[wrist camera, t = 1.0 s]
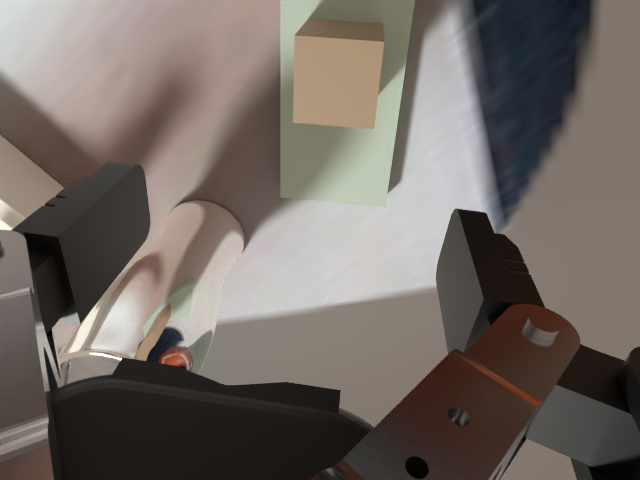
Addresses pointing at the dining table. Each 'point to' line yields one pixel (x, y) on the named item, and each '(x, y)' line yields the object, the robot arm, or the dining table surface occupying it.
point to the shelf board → (339, 145)
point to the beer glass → (161, 298)
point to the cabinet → (21, 186)
